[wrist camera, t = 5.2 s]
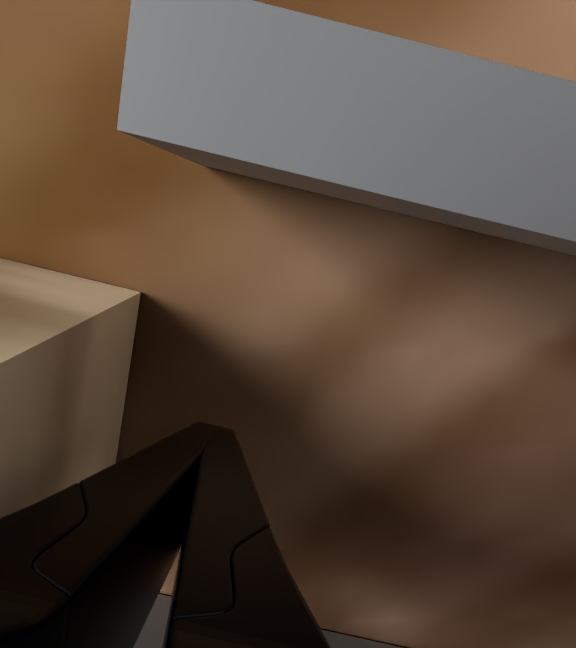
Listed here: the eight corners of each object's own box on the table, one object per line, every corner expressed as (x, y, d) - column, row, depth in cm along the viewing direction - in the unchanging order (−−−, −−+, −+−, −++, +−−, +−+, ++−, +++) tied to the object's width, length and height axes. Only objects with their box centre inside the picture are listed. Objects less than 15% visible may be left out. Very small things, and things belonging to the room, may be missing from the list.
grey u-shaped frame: (125, 629, 12) (37, 833, 8) (216, 84, 8) (134, -30, 4) (720, 759, 12) (913, 1013, 8) (1071, 295, 8) (1711, 369, 5)
